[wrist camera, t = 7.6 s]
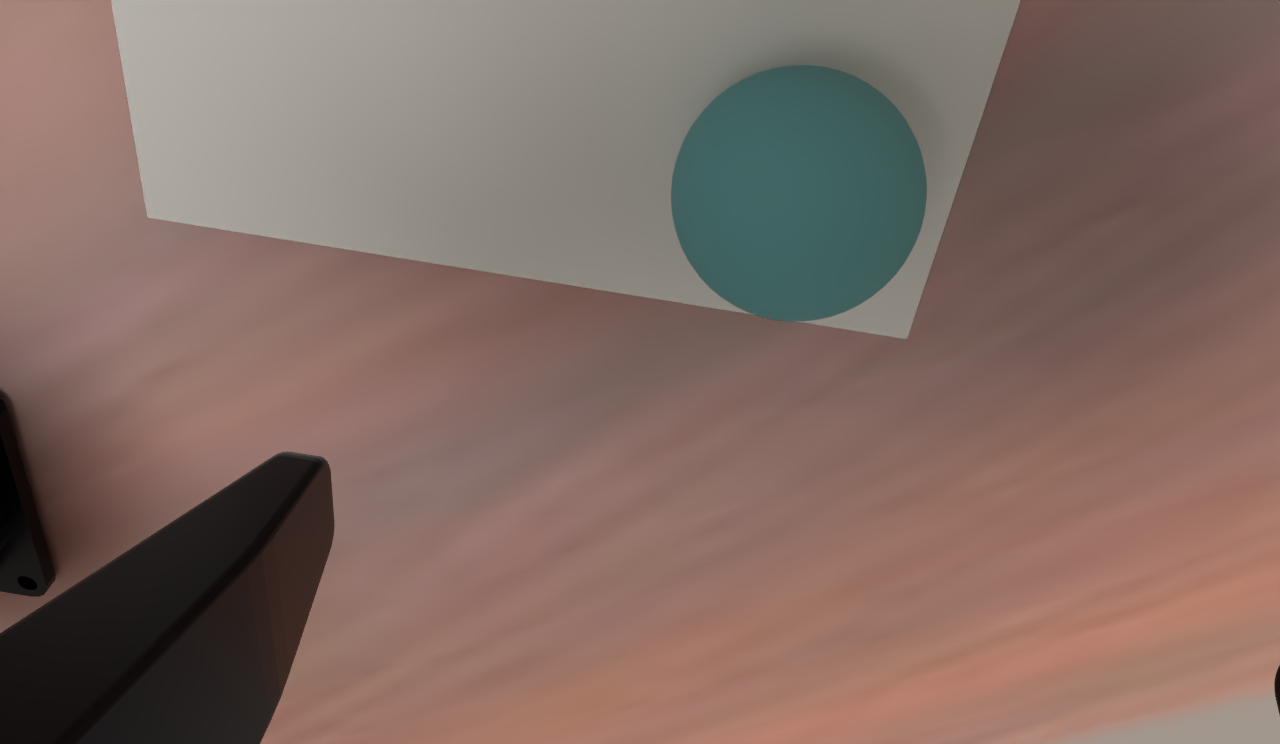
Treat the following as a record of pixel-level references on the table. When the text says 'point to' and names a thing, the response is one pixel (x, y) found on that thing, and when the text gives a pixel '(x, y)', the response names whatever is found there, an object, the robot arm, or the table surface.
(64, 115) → the table surface
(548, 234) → the mat
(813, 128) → the teal ball
